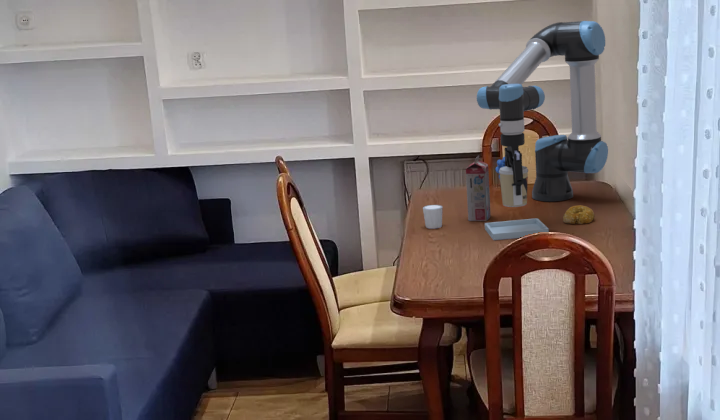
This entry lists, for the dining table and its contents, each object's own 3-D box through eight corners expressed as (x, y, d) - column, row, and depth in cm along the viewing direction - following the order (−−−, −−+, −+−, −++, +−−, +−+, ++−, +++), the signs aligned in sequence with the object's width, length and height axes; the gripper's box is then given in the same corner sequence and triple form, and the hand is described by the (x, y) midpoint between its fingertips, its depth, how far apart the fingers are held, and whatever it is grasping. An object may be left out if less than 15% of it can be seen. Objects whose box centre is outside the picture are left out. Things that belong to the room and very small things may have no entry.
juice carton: (490, 216, 301) (487, 155, 296) (487, 220, 295) (484, 159, 290) (472, 215, 304) (469, 155, 298) (468, 220, 297) (465, 159, 292)
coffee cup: (529, 207, 271) (528, 170, 268) (499, 208, 273) (498, 171, 270) (529, 200, 280) (528, 164, 277) (500, 201, 282) (499, 165, 279)
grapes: (491, 187, 346) (490, 158, 343) (498, 183, 351) (497, 155, 348) (518, 188, 339) (517, 159, 336) (525, 184, 345) (524, 155, 342)
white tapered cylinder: (422, 224, 297) (421, 205, 295) (441, 222, 298) (440, 203, 296) (425, 229, 290) (424, 210, 289) (445, 227, 291) (444, 208, 289)
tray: (537, 224, 286) (537, 218, 285) (548, 235, 272) (548, 228, 272) (484, 229, 285) (484, 223, 285) (493, 240, 272) (493, 234, 271)
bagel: (555, 221, 288) (555, 207, 287) (581, 215, 293) (581, 202, 291) (574, 227, 279) (574, 213, 278) (600, 221, 284) (600, 207, 283)
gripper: (493, 129, 281) (496, 195, 286) (508, 138, 260) (510, 210, 266) (516, 127, 281) (518, 193, 287) (532, 136, 261) (534, 208, 266)
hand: (514, 201), depth 276 cm, fingers closed on coffee cup, 8 cm apart
